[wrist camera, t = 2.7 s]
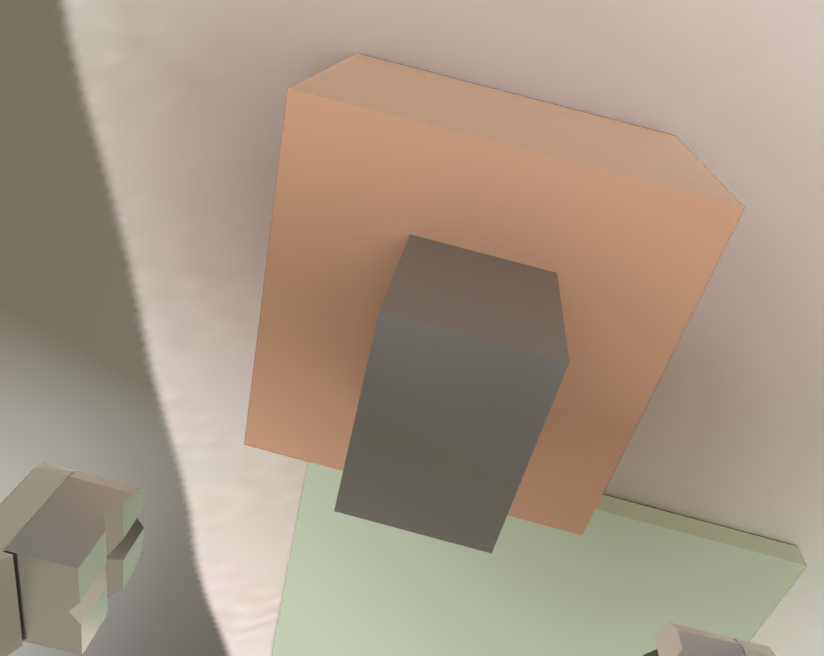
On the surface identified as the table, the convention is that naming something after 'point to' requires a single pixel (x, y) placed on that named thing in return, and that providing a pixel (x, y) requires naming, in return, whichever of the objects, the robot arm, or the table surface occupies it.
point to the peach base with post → (471, 296)
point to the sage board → (520, 584)
